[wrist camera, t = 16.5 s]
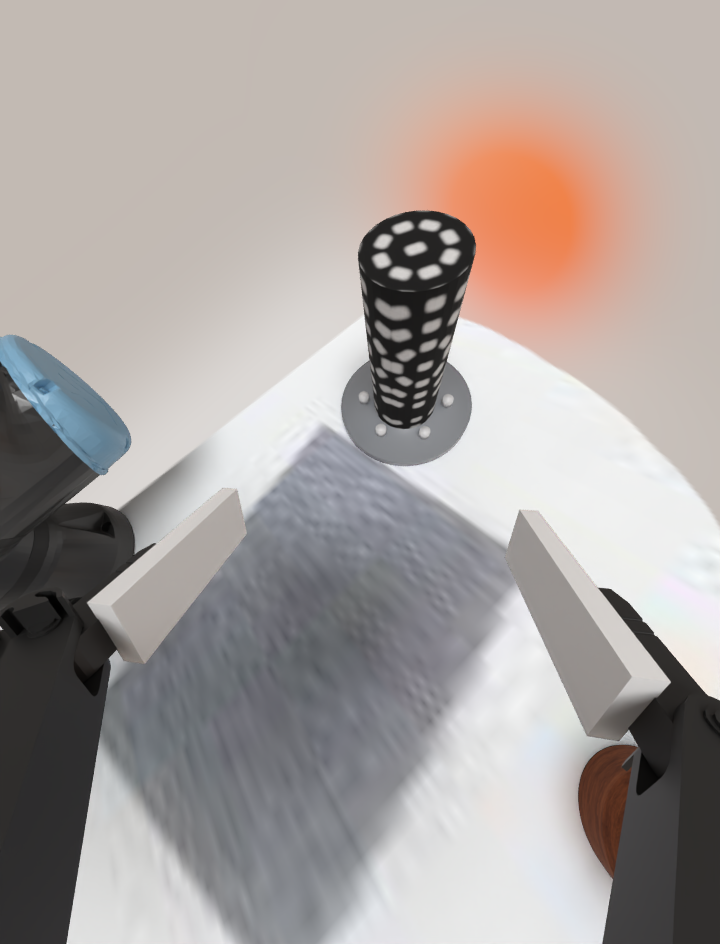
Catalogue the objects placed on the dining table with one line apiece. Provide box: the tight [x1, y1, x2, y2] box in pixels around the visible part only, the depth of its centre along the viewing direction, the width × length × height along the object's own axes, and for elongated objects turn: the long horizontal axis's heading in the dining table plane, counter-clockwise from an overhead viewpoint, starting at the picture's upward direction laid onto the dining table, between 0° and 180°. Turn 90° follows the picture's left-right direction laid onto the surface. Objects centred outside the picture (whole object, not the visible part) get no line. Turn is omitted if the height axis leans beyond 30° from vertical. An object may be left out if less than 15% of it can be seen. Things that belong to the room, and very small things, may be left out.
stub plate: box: [341, 361, 472, 466], centre depth 39 cm, size 18×18×3 cm
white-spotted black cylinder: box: [358, 211, 476, 429], centre depth 29 cm, size 8×8×20 cm
